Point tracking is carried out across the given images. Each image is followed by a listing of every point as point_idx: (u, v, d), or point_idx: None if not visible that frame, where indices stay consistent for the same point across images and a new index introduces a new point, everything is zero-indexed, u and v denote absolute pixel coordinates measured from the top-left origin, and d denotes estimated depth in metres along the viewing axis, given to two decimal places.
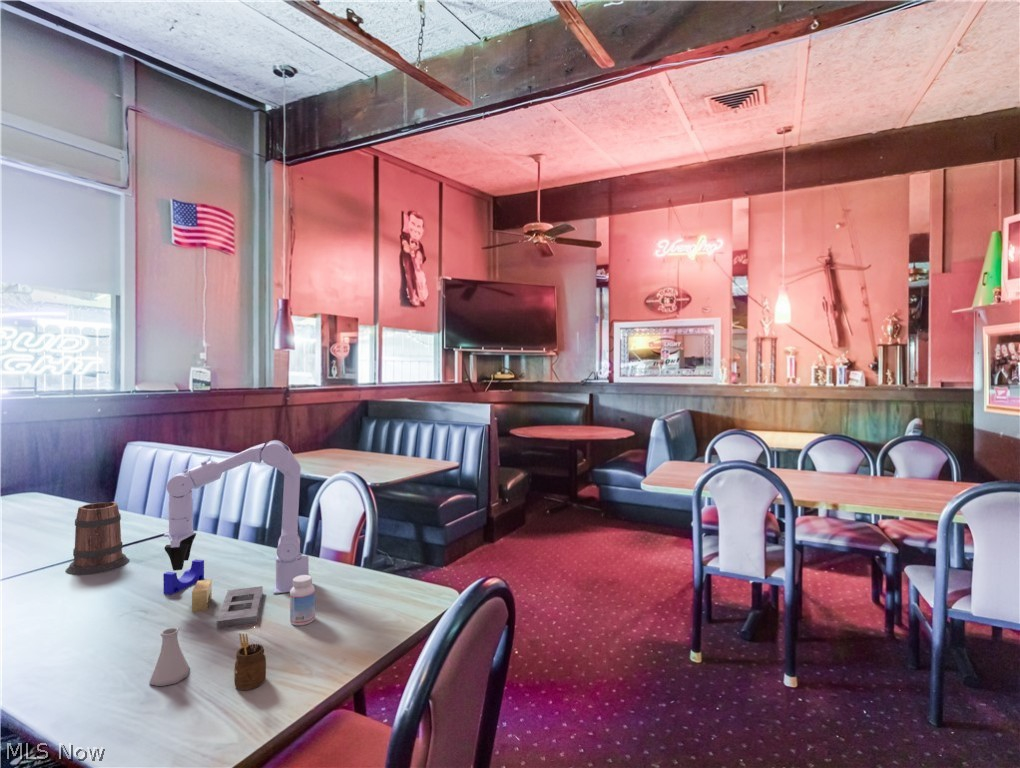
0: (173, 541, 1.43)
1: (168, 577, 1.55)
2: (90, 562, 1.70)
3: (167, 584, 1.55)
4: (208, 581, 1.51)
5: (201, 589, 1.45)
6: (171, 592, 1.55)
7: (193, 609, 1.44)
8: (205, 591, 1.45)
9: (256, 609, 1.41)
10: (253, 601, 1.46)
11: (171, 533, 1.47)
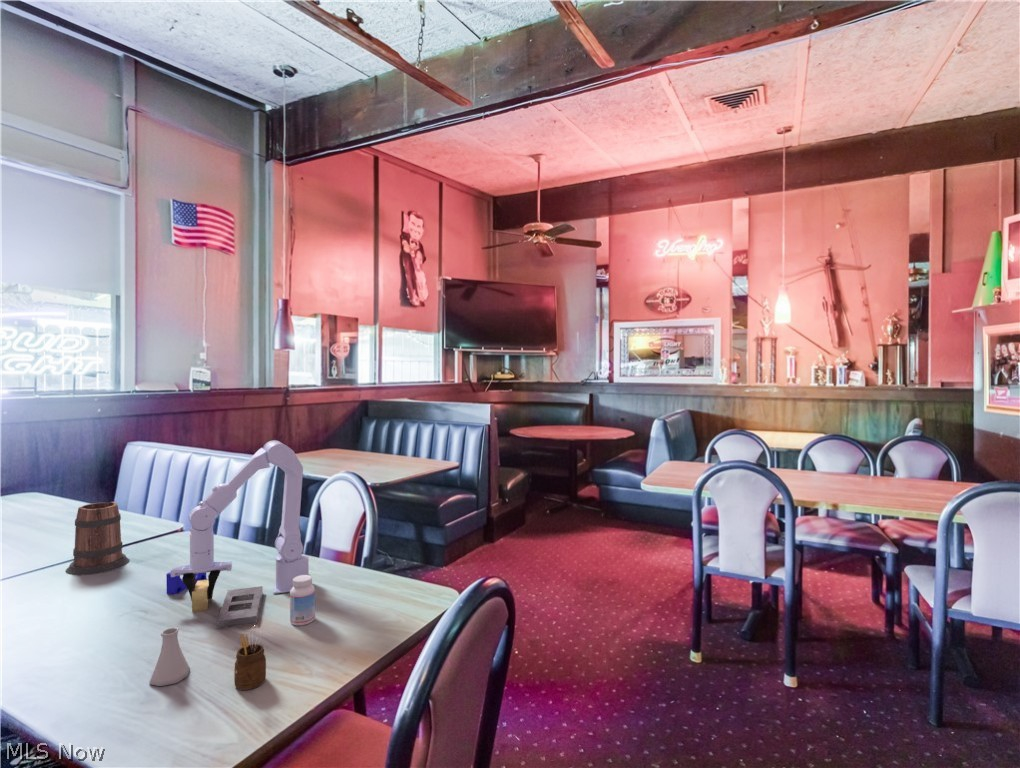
0: None
1: (171, 577, 1.55)
2: (90, 562, 1.70)
3: (170, 584, 1.55)
4: (208, 581, 1.51)
5: (201, 589, 1.45)
6: (174, 592, 1.55)
7: (193, 609, 1.44)
8: (205, 591, 1.45)
9: (256, 609, 1.41)
10: (253, 601, 1.46)
11: None
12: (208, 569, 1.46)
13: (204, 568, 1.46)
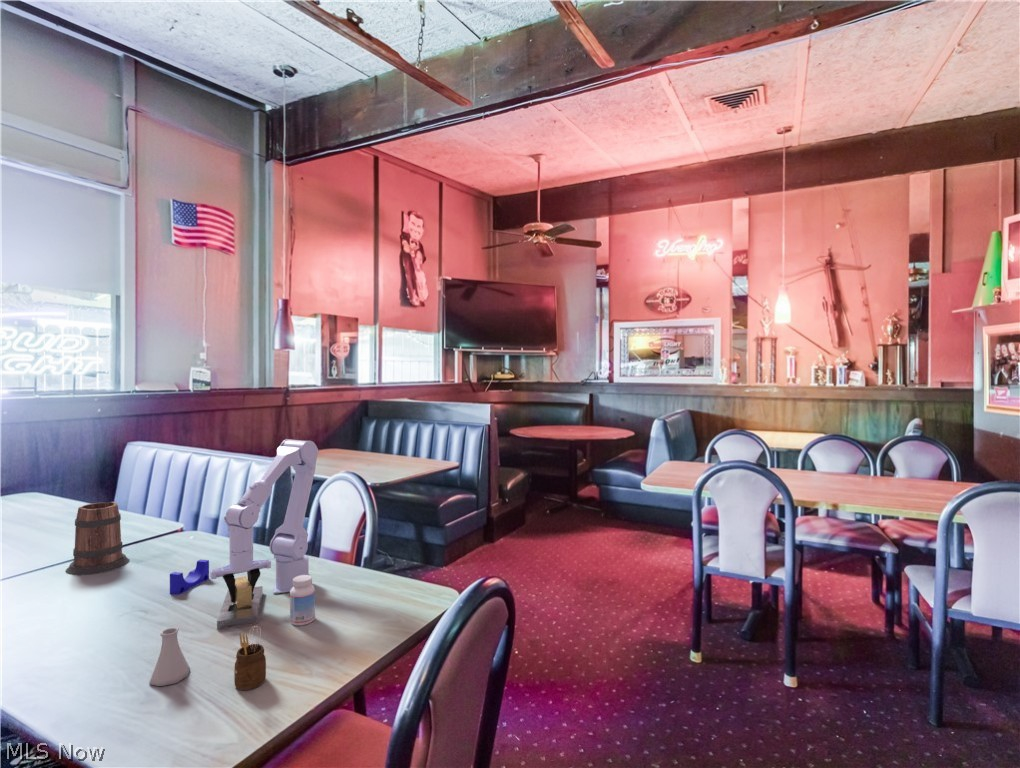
0: (210, 571, 1.41)
1: (174, 577, 1.55)
2: (90, 562, 1.70)
3: (173, 584, 1.55)
4: (244, 578, 1.48)
5: (245, 585, 1.43)
6: (177, 592, 1.55)
7: (238, 606, 1.41)
8: (250, 587, 1.43)
9: (256, 609, 1.41)
10: (253, 601, 1.46)
11: None
12: (251, 568, 1.44)
13: (247, 567, 1.43)
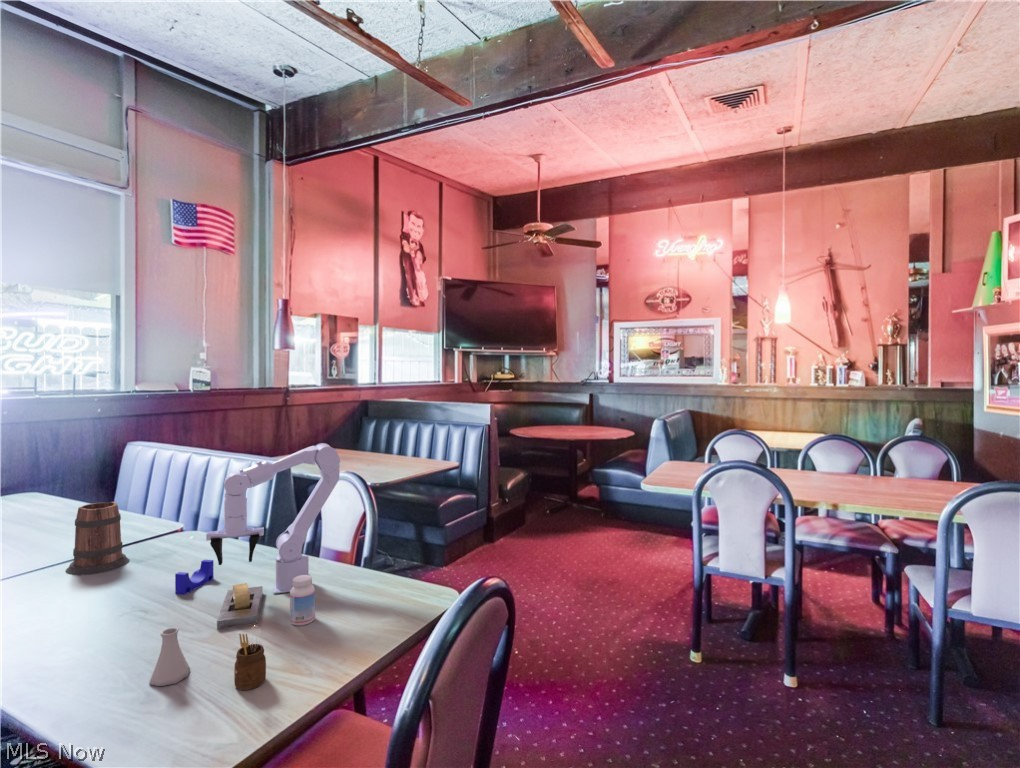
0: None
1: (180, 577, 1.55)
2: (90, 562, 1.70)
3: (179, 584, 1.55)
4: (245, 585, 1.48)
5: (243, 593, 1.43)
6: (183, 592, 1.55)
7: None
8: (248, 594, 1.42)
9: (256, 609, 1.41)
10: (253, 601, 1.46)
11: None
12: (242, 533, 1.51)
13: (238, 532, 1.51)
